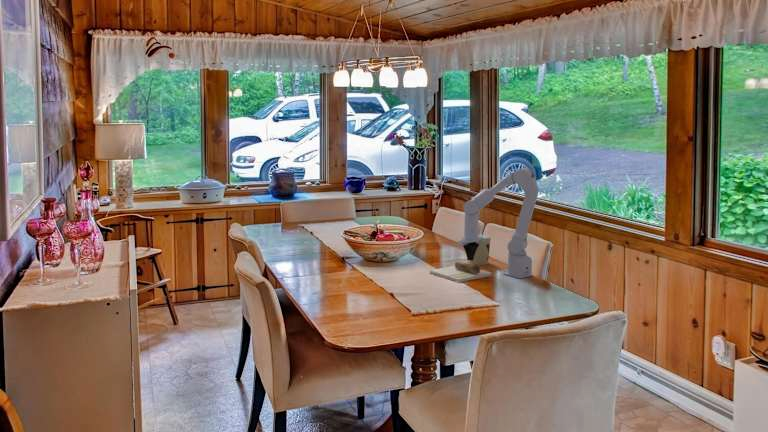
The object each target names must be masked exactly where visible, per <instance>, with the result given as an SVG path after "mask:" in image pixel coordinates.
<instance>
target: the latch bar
mask: <svg viewBox="0 0 768 432" xmlns="http://www.w3.org/2000/svg"><path fill="white" fill-rule="evenodd" d="M454 266H455V268H457V269H460V270H464V271H467V272H470V273H474V274H477V273H480V270H481V267H480V266H478V265H474V264H471V263H466V262H463V261H456V262H455V263H454Z"/></svg>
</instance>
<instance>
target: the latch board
mask: <svg viewBox="0 0 768 432" xmlns="http://www.w3.org/2000/svg"><path fill="white" fill-rule="evenodd" d="M428 272H430V273H429V274H431V273H433V274H432V275H434V274H436V275H435V276H437V275H439V276H438V277H440V276H442V277H441V278H443V277H445V278H444V279H446V278H448V279H447V280H450V279H451V281H453V280H454V281H453V282H456V281H457V282H456V283H461V282H467V281H472V280H478V279H481V278H486V277H491V276H492V272H489V271H487V270H484V269H483V270H482V269H480V273H477V274H474V273H470V272H467V271H464V270H460V269H457V268H455V265H451V266H445V267H440V268H435V269H430V270H429V271H428Z"/></svg>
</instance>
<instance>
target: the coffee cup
mask: <svg viewBox="0 0 768 432" xmlns="http://www.w3.org/2000/svg"><path fill="white" fill-rule="evenodd" d="M478 236H481V237H483V241H479V242H476V243H478V244H479V246H478V248H477V250H476V252H475V255H474V259H473V260H472V261H470V265H473V266H474V265H476V266H485V265H488V264H489V259H490V257H489V256H490V248H491V236H490V235H487V234H478Z"/></svg>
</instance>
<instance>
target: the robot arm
mask: <svg viewBox="0 0 768 432" xmlns="http://www.w3.org/2000/svg"><path fill="white" fill-rule="evenodd" d="M537 182H538V181H537V179H536V174H535V172H533V170H532V169H531V168H529V167H526V166H525V167H521V168H519V169H517V170H515V171H513V172H511V173H510V174H508V175H506V176H505V177H504V178H503V177H502V179H501V180H500V181H499V182H496V184H495V185H493V186H491V188H484V189H480V190H479V193H477V194H476V195H475V196H471V197H470V200H467V201H466V202H465V203H464V205H463V206H462V207H463V211H464V228H463V229H464V231H463V233H464V234H463V237H462V238H461V239H460V240H458V247H459V246H460V247H463V249H464V251H465V254H466V255H465V256H466V259H467V261H469V262H471V261H472V260H473V259H474V255H475V252H476V250H477V248H478V246H479V244H478V243H476V242H479V241H483V237H481V236H478V235H479V212H480V210H481V209H483V208H485V207H486V206H487V205H488V204H490V203H491V202H493V200H494V199H495V196H496V194H498V193H500V192H501V191H502V190H504V189H505V188H507V187H508V186H513V185H517V186H519V187H520V188H521V189H522V191H523V192H524V193H525V194H524V198H523V201H522V204H521V205H522V206H521V209H520V211H519V215H518V220H517V222H516V226H515V230H514V232H513V234H512V237H511V239H510V240H509V242H508V243H507V250H508V252H507V254H508V255H507V256H508V257H507V271H505V272H503V273H502V274H503V275H506V276H510V277H514V278H516V279H523V278H528V277H533V276H534V275H533V274H532V270H533V265H532V264H533V260H532V258H531V257H530V256H529V255H527V250H526V248H527V246H528V239H527V238H528V230H529V228H530V223H531V220H532V216H533V213H534V210H535V206H536V203H537V199H538V195H539V193H540V191H539V186H538V183H537Z"/></svg>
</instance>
